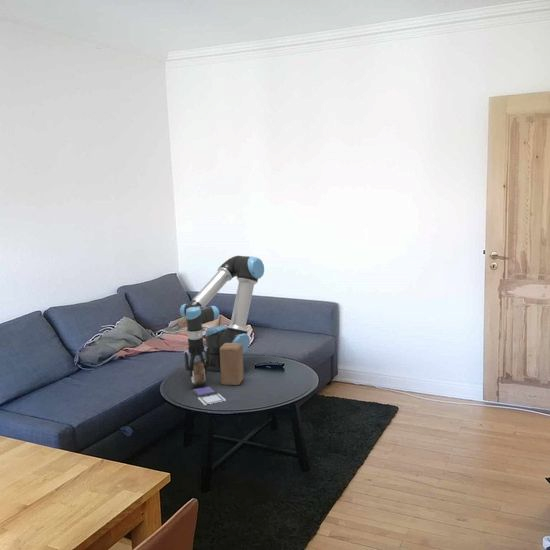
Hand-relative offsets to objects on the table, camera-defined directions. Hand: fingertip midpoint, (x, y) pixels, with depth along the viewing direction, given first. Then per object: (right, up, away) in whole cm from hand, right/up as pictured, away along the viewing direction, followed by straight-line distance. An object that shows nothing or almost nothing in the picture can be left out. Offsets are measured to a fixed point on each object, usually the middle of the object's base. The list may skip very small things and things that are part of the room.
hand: (198, 381), depth 297 cm
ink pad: (+4, -4, -9) cm, 11 cm away
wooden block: (+17, -2, +5) cm, 18 cm away
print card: (+9, -6, -18) cm, 21 cm away
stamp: (0, 0, 0) cm, 0 cm away
